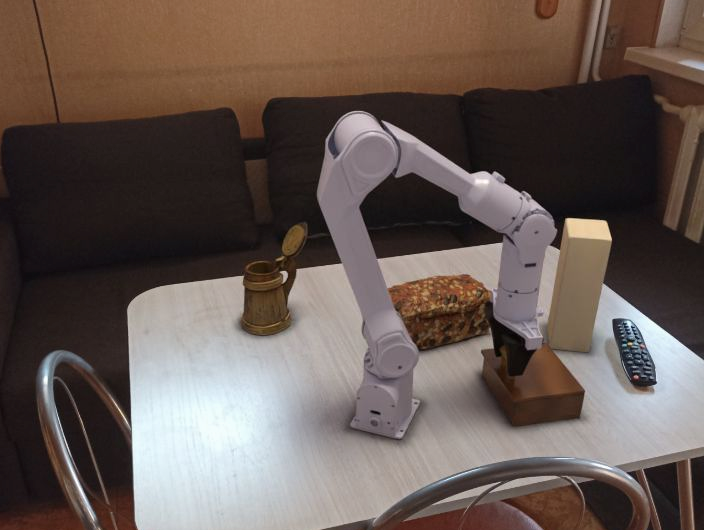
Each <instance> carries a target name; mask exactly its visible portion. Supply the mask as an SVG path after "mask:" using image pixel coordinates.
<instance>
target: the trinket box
mask: <svg viewBox="0 0 704 530" xmlns="http://www.w3.org/2000/svg"><path fill="white" fill-rule="evenodd" d="M482 361H483V362H482V371H481V376H482V378H483V379H484V380H485V382H486V384H487V385H488V387H489V388H490V390H491V392H492V393H493V395H494V397H495V399H496V400H497V402H498V403H499V405H500V407H501V408H502V410H503V411H504V413H505V415H506V416H507V418H508V420H509V421H510V422H511V425H512V426H513V427H517V426H526V425H533V424H540V423H548V422H555V421H563V420H572V419H579V418H581V414H582V411H583V404H584V400H585V394H586V393H585V394H579V395H571V396H563V397H555V398H547V399H539V400H531V401H523V402H515V403H513V402H512V400H511V399H510V397H509V396H508V394H507V393H506V391H505V389H504V388H503V386H502V385H501V383H500V382H499V380H498V379H497V377H496V375H495V374H494V372H493V371H492V369H491V368H490V366H489V365H488V363H487V362H486V360H485V358H484V357H483V360H482Z"/></svg>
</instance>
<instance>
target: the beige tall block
mask: <svg viewBox="0 0 704 530" xmlns="http://www.w3.org/2000/svg"><path fill="white" fill-rule="evenodd" d="M612 241H613V239H612V235H611V232H610V228H609V225H608V221H607V220H603V219H601V220H600V219H588V218H573V217H572V218H571V217H567V218H565V220H564V224H563V231H562V237H561V242H560V248H559V254H558V261H557V266H556V271H555V278H554V284H553V289H552V291H553V292H552V294H551V301H550V307H549V313H548V319H547V327H546V329H547V338H548V345H549V347H550V348H551V349H552V350H561V351H570V352H578V353H579V352H580V353H589V352H590V347H591V343H592V338H593V334H594V328H595V323H596V319H597V314H598V309H599V305H600V299H601V295H602V290H603V287H604V286H603V285H604V280H605V276H606V272H607V267H608V263H609V257H610V253H611V247H612V244H613V243H612Z"/></svg>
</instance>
